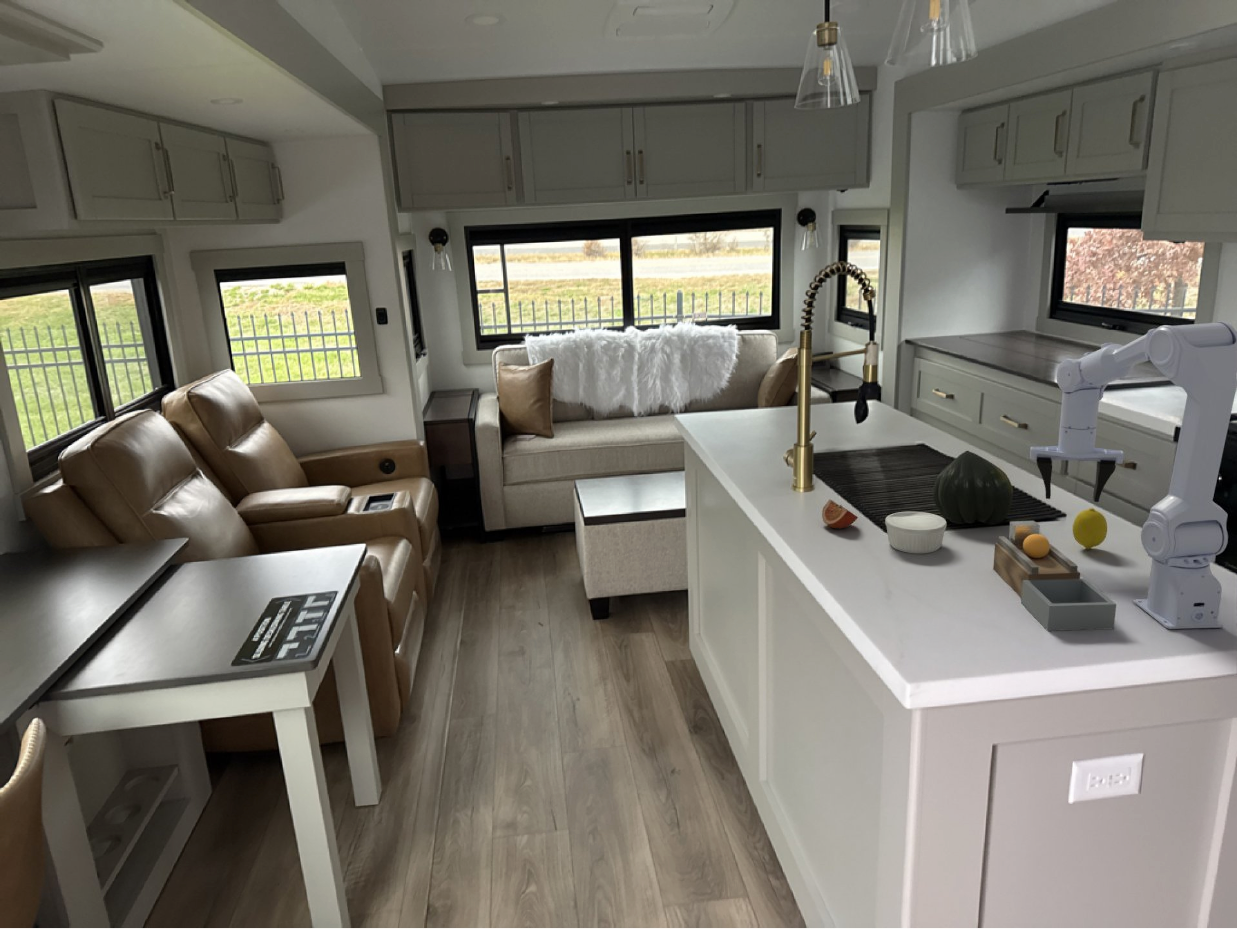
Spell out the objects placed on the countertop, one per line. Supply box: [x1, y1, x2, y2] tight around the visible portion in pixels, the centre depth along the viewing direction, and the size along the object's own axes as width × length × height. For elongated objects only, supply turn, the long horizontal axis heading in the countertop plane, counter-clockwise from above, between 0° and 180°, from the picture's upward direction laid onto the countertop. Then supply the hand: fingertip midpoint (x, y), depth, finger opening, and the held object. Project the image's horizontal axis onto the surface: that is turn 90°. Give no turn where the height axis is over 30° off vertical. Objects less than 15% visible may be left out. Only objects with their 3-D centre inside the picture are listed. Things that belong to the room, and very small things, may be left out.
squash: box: [932, 450, 1014, 526], centre depth 170 cm, size 14×15×15 cm
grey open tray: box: [1020, 577, 1117, 631], centre depth 128 cm, size 10×10×4 cm
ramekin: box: [884, 511, 947, 554], centre depth 159 cm, size 11×11×5 cm
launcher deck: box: [992, 535, 1081, 598], centre depth 139 cm, size 14×8×6 cm, turn 177°
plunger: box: [1008, 520, 1041, 548], centre depth 143 cm, size 2×4×4 cm, turn 87°
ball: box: [1023, 533, 1051, 558], centre depth 138 cm, size 4×4×4 cm
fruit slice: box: [821, 499, 859, 529], centre depth 172 cm, size 8×7×5 cm
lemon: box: [1072, 507, 1108, 550], centre depth 152 cm, size 6×6×8 cm
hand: (1071, 498), depth 150 cm, fingers open, 7 cm apart
